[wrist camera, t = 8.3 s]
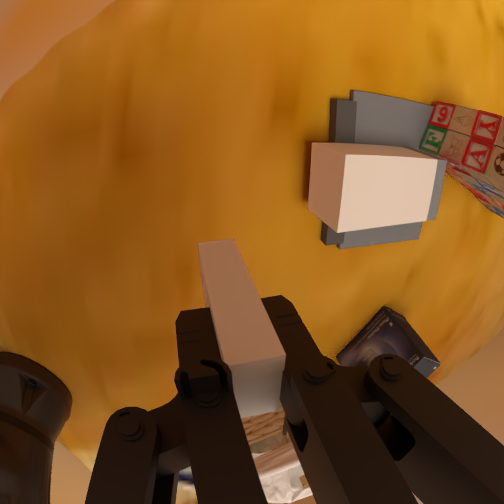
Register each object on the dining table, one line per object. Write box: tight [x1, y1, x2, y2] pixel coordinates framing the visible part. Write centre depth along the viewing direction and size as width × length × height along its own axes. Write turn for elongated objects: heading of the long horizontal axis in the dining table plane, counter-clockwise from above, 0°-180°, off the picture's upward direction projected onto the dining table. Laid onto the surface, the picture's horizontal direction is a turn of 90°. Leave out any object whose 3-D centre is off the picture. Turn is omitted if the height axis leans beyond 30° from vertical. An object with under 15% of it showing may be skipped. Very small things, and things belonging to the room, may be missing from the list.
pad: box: [321, 90, 434, 249], centre depth 27 cm, size 14×16×1 cm
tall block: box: [308, 142, 447, 233], centre depth 24 cm, size 5×6×12 cm
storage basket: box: [241, 402, 313, 503], centre depth 39 cm, size 24×16×15 cm
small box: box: [336, 306, 441, 378], centre depth 36 cm, size 11×6×10 cm, turn 145°
